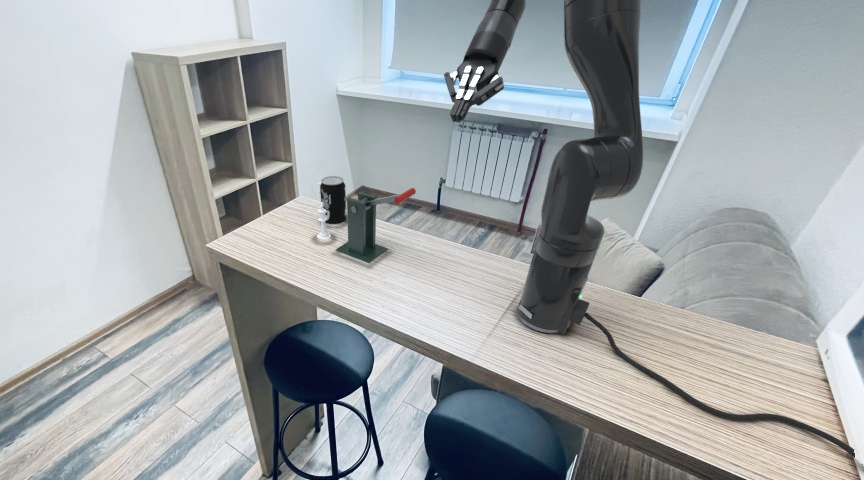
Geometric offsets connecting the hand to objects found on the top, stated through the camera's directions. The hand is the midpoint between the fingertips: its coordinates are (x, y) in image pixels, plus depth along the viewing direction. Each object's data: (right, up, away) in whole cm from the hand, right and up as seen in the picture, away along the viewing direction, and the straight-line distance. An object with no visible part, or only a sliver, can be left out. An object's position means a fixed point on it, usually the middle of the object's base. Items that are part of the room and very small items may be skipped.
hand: (455, 119), depth 82 cm
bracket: (-18, -25, +16) cm, 35 cm away
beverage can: (-26, -16, +30) cm, 43 cm away
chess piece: (-28, -21, +22) cm, 42 cm away
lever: (-14, -16, +5) cm, 22 cm away
